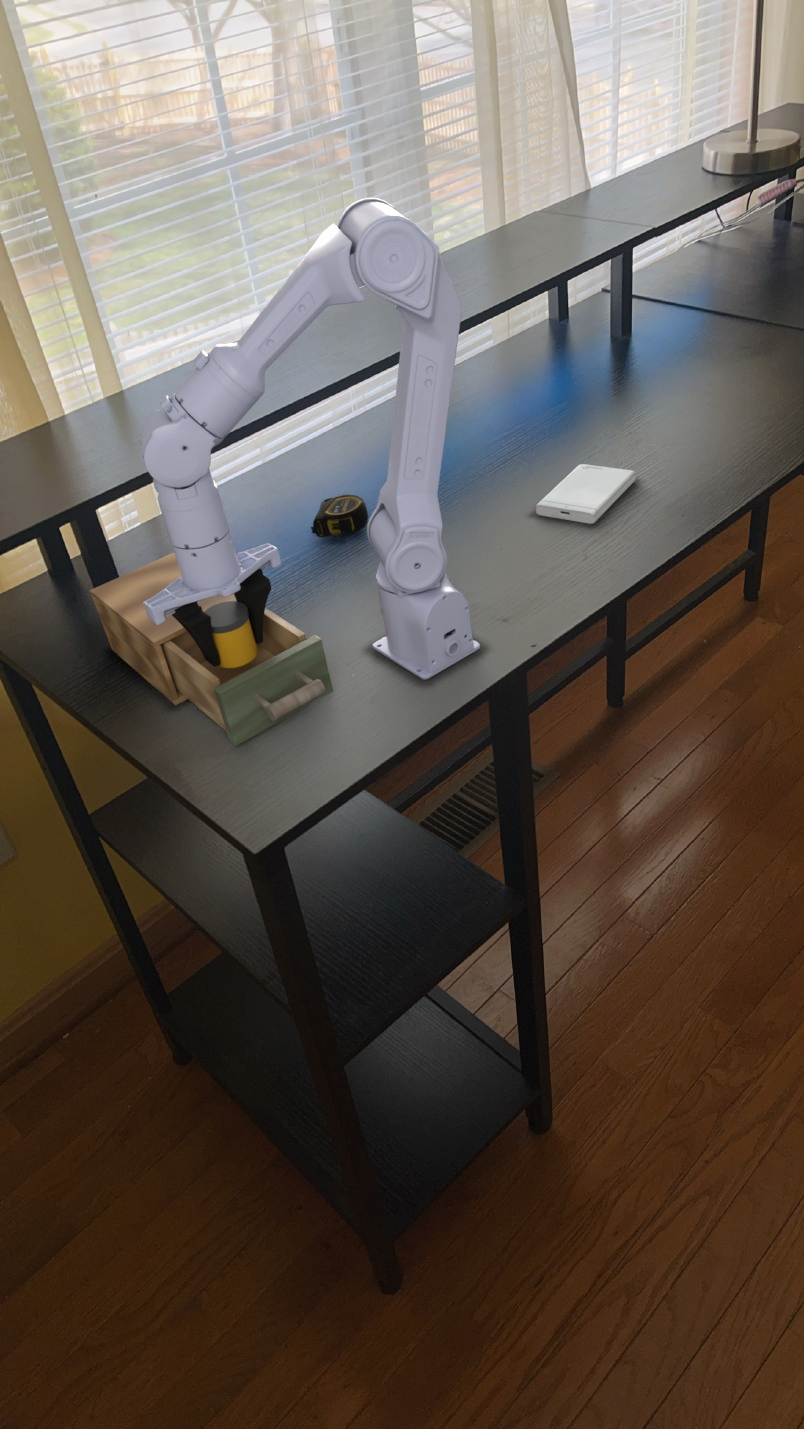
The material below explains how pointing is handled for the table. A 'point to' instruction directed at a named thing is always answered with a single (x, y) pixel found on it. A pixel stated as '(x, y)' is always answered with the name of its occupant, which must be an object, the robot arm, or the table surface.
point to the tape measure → (340, 516)
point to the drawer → (252, 679)
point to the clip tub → (232, 633)
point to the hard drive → (586, 493)
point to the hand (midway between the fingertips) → (234, 650)
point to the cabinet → (144, 621)
